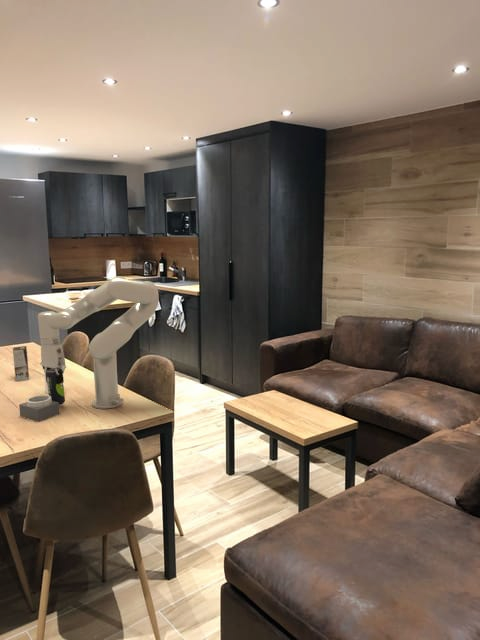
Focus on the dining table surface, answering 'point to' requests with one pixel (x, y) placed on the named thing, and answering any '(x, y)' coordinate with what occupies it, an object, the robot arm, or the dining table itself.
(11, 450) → the dining table surface
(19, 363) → the coffee box
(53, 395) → the beverage can
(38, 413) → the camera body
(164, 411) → the dining table surface
